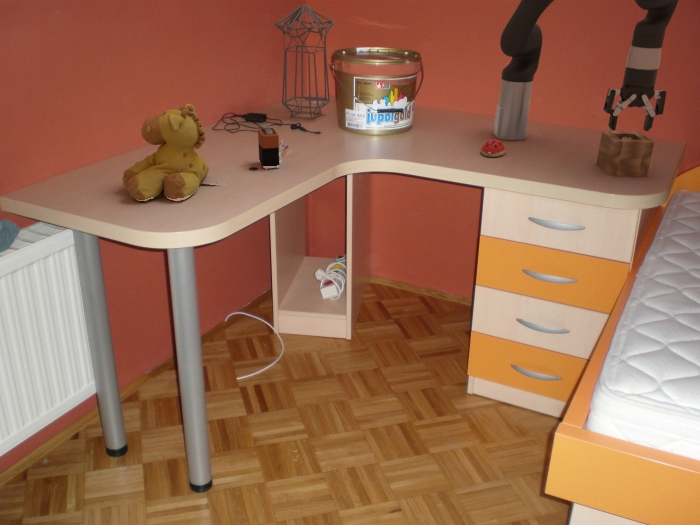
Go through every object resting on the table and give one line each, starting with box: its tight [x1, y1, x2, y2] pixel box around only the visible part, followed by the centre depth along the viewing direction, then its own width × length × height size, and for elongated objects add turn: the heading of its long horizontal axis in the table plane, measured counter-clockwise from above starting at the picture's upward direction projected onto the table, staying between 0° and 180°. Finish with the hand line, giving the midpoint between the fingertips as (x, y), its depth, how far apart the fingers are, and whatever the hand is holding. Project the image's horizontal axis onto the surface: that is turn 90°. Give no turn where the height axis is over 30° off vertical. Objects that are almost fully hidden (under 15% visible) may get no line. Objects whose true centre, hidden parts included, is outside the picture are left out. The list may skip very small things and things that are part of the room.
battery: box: [257, 124, 280, 166], centre depth 171 cm, size 4×7×10 cm, turn 17°
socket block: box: [595, 130, 655, 177], centre depth 173 cm, size 10×10×9 cm
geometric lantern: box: [273, 4, 335, 120], centre depth 213 cm, size 16×16×35 cm
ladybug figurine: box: [480, 138, 506, 158], centre depth 186 cm, size 7×10×4 cm
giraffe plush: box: [122, 103, 210, 200], centre depth 152 cm, size 20×24×19 cm
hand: (629, 130), depth 170 cm, fingers open, 8 cm apart
